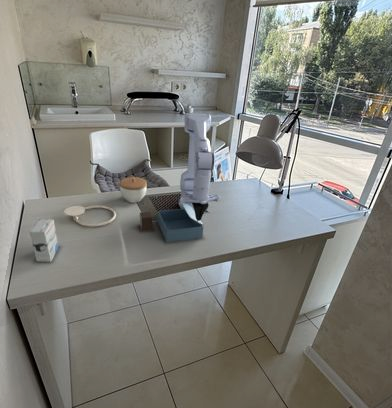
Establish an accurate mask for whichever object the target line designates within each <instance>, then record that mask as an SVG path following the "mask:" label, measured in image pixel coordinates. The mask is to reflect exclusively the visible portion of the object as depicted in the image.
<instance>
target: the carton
mask: <svg viewBox="0 0 392 408" xmlns="http://www.w3.org/2000/svg"><path fill="white" fill-rule="evenodd" d="M157 224H158V227H159V229H160V230H161V234H162V235H163V237H164V240H165V242H166V243H168V242H177V241H186V240H194V239H201V238H203V234H204V224H203V225H201V224H199V223H198V222H196V221H194V220H192V219H191V218H189V216H188V214H187V213H186V211H185V210H184V209H181V208H175V209H166V210H157Z"/></svg>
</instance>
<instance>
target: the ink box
mask: <svg viewBox="0 0 392 408" xmlns="http://www.w3.org/2000/svg"><path fill="white" fill-rule="evenodd" d="M54 221H55V220H54V219H41V218H40V219H38V220H37V221H36V223H35V224H34V226H33V227H32V228H31V230H29V236H30V240H31V244H32V248H33V252H34V256H35V260H36V262H44V263H45V262H46V263H47V262H48V263H49V262H50V263H51V262H52V261H53V259H54V257H55V255H56V253H57V251H58V249H59V242H58V237H57V231H56V226H55V222H54Z"/></svg>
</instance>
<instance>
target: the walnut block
mask: <svg viewBox="0 0 392 408" xmlns="http://www.w3.org/2000/svg"><path fill="white" fill-rule="evenodd" d="M153 223H154V222H153V215H152V213H151V211H144V212H139V227H140V230H141V232H147V231H152V230H153V228H154V227H153V225H154V224H153Z"/></svg>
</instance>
